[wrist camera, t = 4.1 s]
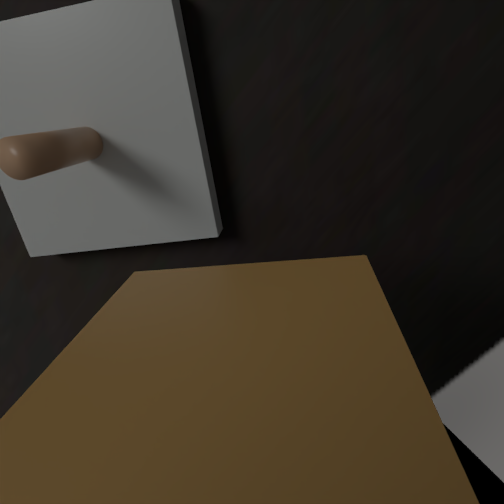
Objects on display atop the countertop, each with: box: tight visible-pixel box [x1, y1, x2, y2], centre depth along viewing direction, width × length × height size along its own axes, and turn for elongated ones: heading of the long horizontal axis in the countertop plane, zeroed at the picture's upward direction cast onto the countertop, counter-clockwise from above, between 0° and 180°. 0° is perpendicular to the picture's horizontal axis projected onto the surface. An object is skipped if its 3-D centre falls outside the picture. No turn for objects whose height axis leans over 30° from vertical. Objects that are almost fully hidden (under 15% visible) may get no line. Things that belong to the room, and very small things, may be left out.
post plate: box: [0, 0, 223, 257], centre depth 14 cm, size 10×10×6 cm
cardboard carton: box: [0, 255, 479, 504], centre depth 6 cm, size 5×5×6 cm
